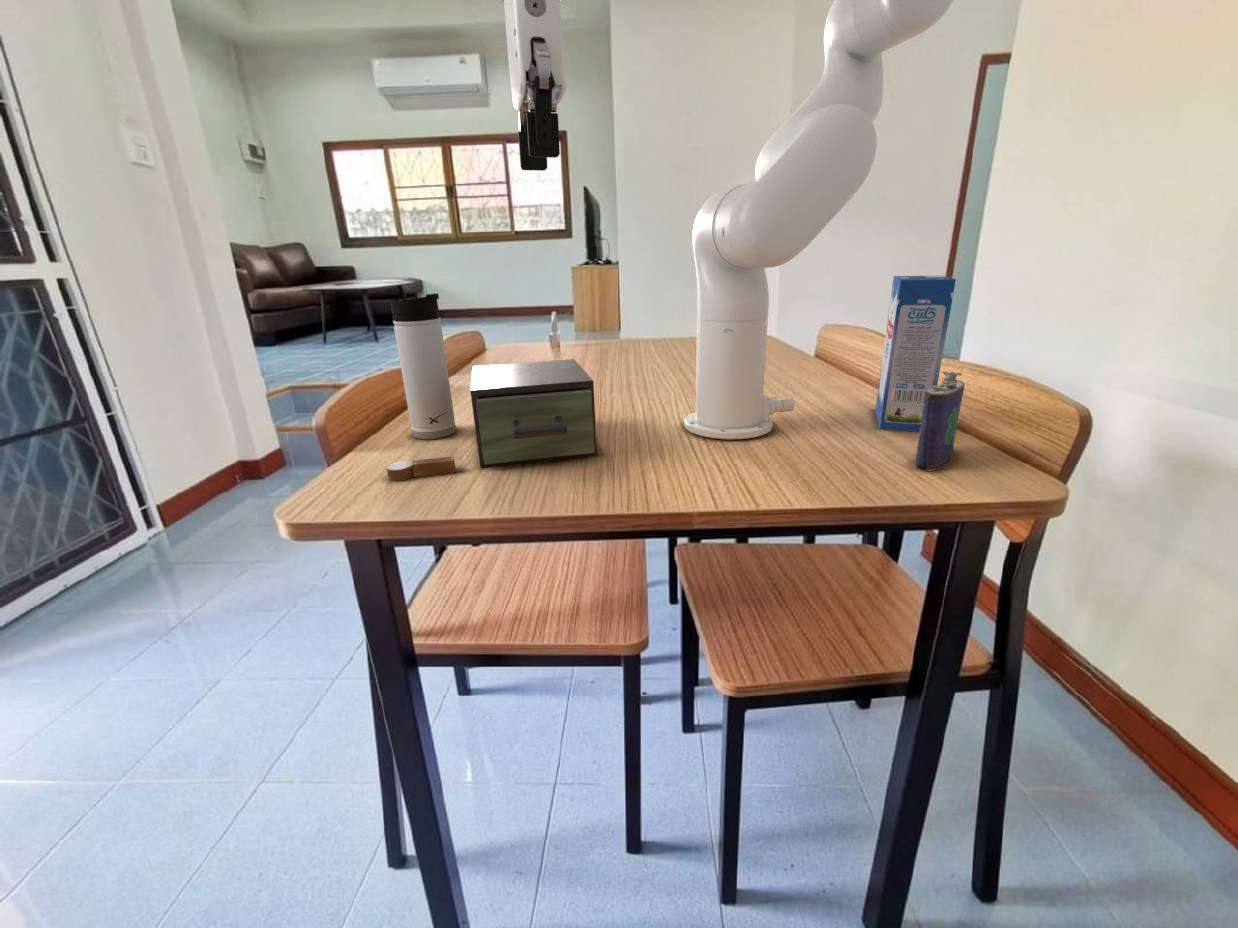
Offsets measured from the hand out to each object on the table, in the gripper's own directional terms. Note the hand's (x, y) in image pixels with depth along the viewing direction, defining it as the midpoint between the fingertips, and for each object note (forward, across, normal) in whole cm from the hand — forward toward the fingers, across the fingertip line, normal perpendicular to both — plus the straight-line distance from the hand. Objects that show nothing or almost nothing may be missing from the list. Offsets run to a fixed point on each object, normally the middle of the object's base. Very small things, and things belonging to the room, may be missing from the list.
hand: (539, 164), depth 64 cm
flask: (+34, -20, -43) cm, 58 cm away
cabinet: (+34, +3, +3) cm, 34 cm away
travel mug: (+35, +13, +16) cm, 40 cm away
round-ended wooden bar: (+34, -4, +17) cm, 39 cm away
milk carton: (+34, -5, -50) cm, 61 cm away
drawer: (+33, -1, +3) cm, 33 cm away
